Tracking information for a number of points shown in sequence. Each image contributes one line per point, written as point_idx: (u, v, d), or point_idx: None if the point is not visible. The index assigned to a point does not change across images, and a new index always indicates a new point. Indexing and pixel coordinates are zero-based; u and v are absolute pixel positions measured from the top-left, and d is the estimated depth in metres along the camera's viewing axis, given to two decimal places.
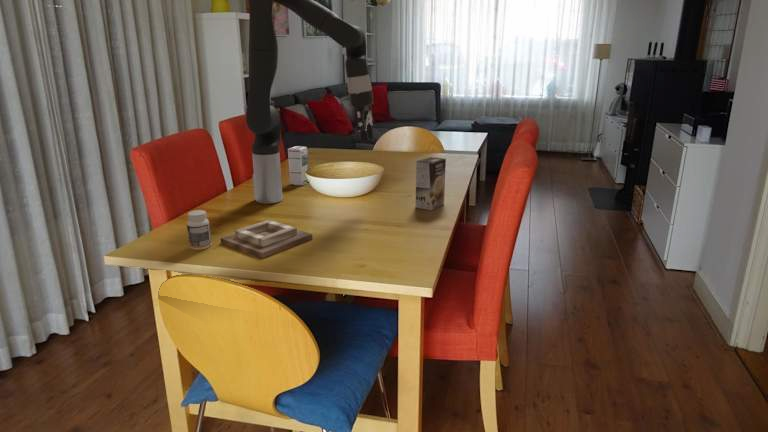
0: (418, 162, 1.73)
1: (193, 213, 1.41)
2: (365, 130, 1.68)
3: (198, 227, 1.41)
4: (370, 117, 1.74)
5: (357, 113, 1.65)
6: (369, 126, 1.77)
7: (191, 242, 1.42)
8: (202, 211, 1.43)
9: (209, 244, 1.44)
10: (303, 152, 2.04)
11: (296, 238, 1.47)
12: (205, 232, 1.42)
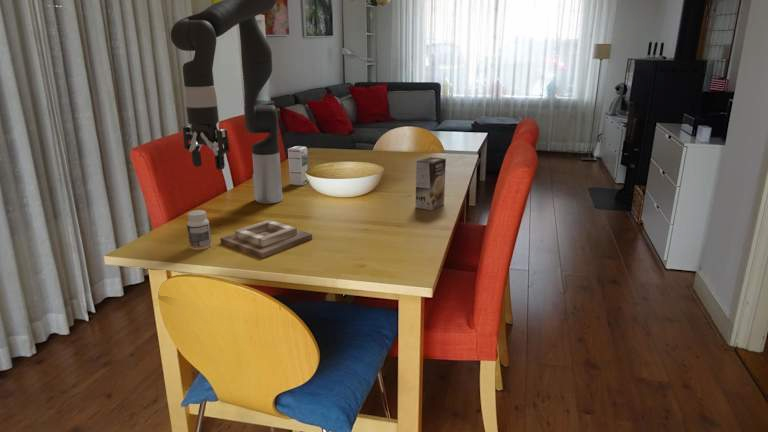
0: (418, 162, 1.73)
1: (193, 213, 1.41)
2: None
3: (198, 227, 1.41)
4: (206, 142, 1.33)
5: None
6: None
7: (191, 242, 1.42)
8: (202, 211, 1.43)
9: (209, 244, 1.44)
10: (303, 152, 2.04)
11: (296, 238, 1.47)
12: (205, 232, 1.42)
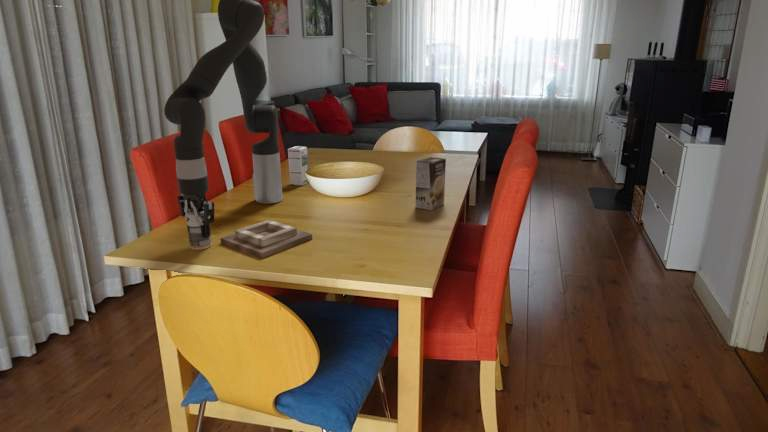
0: (418, 162, 1.73)
1: (193, 213, 1.41)
2: None
3: (198, 227, 1.41)
4: (194, 210, 1.40)
5: None
6: None
7: (191, 242, 1.42)
8: None
9: (209, 244, 1.44)
10: (302, 152, 2.04)
11: (296, 238, 1.47)
12: None
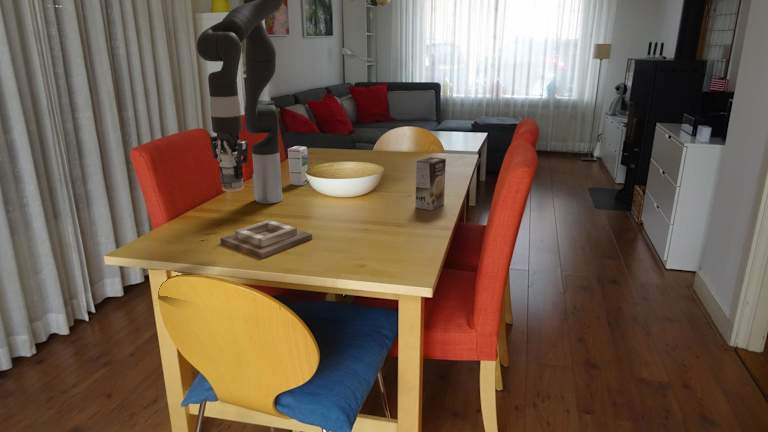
0: (418, 162, 1.73)
1: (226, 154, 1.39)
2: None
3: (231, 168, 1.38)
4: (227, 150, 1.37)
5: None
6: None
7: (223, 183, 1.40)
8: (235, 152, 1.41)
9: (241, 186, 1.42)
10: (303, 152, 2.04)
11: (296, 238, 1.47)
12: None
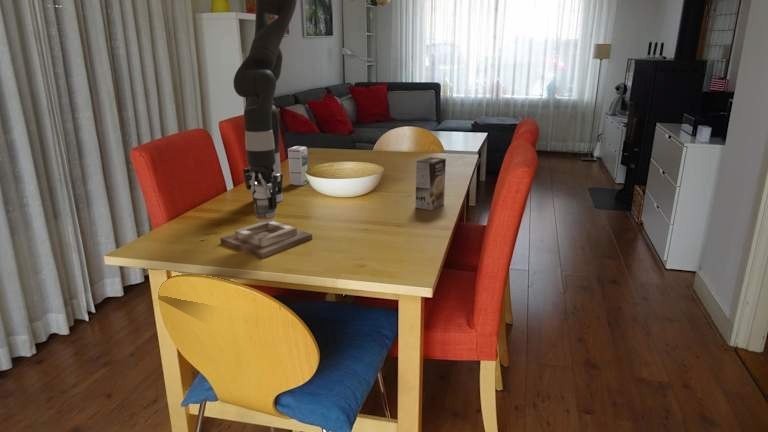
0: (418, 162, 1.73)
1: (260, 185, 1.43)
2: None
3: (266, 199, 1.43)
4: (262, 182, 1.42)
5: None
6: None
7: (258, 214, 1.44)
8: (268, 184, 1.45)
9: (274, 216, 1.46)
10: (303, 152, 2.04)
11: (296, 238, 1.47)
12: None
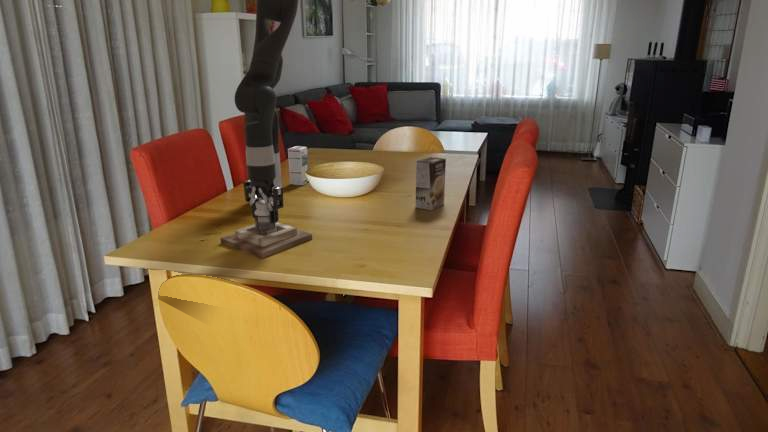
0: (418, 162, 1.73)
1: (261, 203, 1.45)
2: None
3: (266, 217, 1.44)
4: (262, 196, 1.43)
5: None
6: None
7: (258, 231, 1.46)
8: None
9: None
10: (303, 152, 2.04)
11: (296, 238, 1.47)
12: None
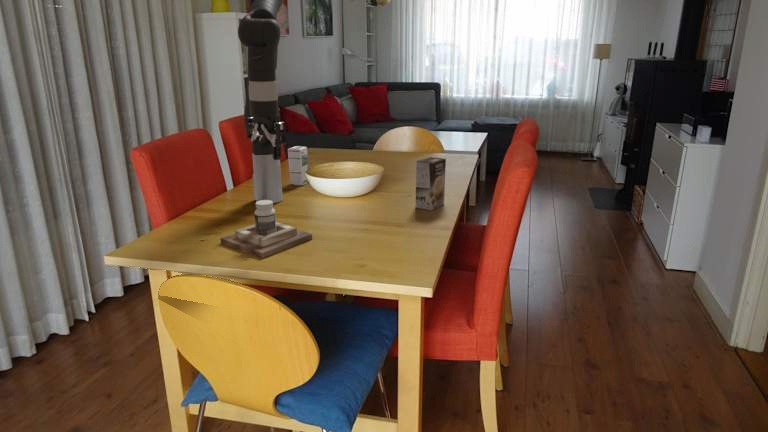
0: (418, 162, 1.73)
1: (261, 203, 1.45)
2: (251, 140, 1.48)
3: (266, 217, 1.44)
4: (265, 133, 1.42)
5: None
6: None
7: (258, 231, 1.46)
8: (269, 201, 1.46)
9: None
10: (303, 152, 2.04)
11: (296, 238, 1.47)
12: (272, 221, 1.46)
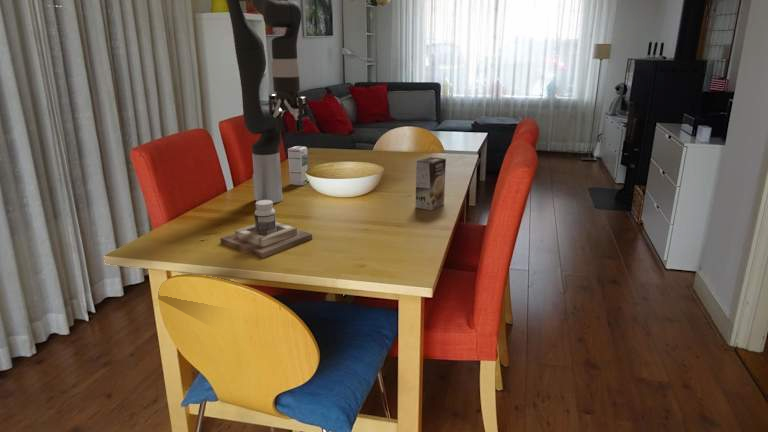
0: (418, 162, 1.73)
1: (261, 203, 1.45)
2: None
3: (266, 217, 1.44)
4: (288, 108, 1.52)
5: None
6: None
7: (258, 231, 1.46)
8: (269, 201, 1.46)
9: None
10: (303, 152, 2.04)
11: (296, 238, 1.47)
12: (272, 221, 1.46)
